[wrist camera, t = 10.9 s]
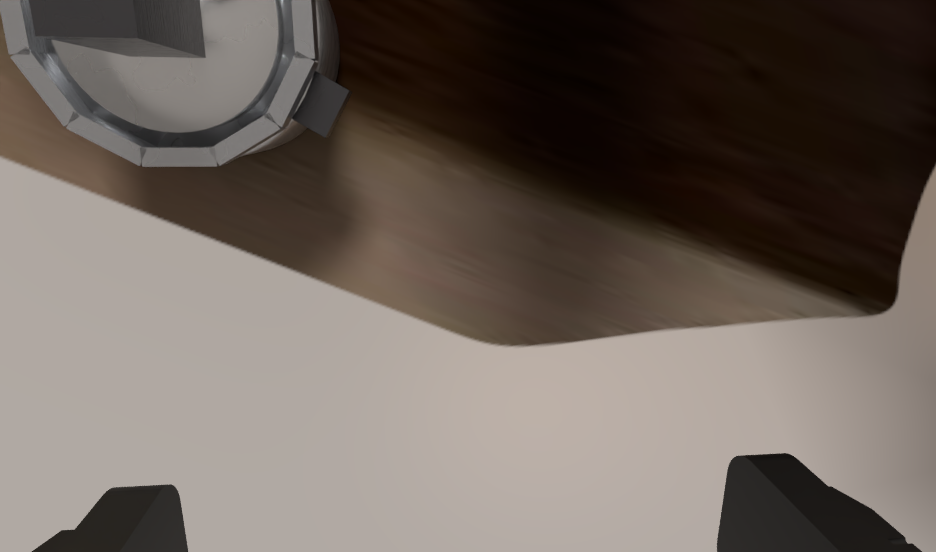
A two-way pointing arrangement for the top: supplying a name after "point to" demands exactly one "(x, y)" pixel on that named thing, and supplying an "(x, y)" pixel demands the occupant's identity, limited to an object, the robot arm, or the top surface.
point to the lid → (167, 56)
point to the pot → (262, 128)
